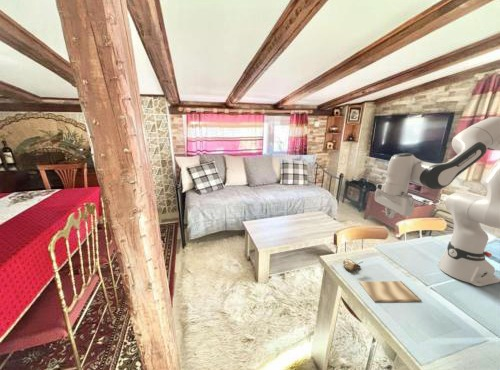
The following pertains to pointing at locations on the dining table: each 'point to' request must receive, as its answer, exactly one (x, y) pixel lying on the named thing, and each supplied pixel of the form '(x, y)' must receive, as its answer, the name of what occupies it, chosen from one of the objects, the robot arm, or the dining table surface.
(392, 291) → the mat
